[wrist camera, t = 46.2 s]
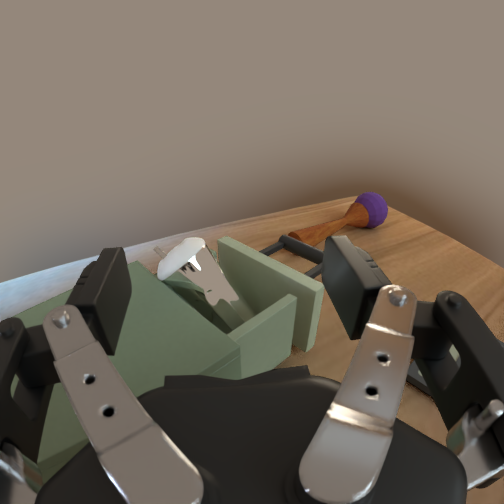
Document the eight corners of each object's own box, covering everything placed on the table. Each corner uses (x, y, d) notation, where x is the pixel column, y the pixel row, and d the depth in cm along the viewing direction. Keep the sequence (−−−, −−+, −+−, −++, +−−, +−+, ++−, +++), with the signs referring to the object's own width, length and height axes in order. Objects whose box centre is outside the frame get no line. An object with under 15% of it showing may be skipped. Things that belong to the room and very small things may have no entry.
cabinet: (155, 334, 29) (137, 260, 25) (243, 418, 21) (240, 345, 17) (35, 397, 20) (-12, 327, 16) (92, 514, 12) (21, 470, 8)
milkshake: (244, 315, 29) (174, 231, 27) (277, 315, 24) (195, 214, 22) (212, 350, 26) (135, 264, 24) (241, 358, 22) (148, 253, 20)
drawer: (268, 269, 37) (270, 217, 34) (349, 312, 30) (362, 255, 27) (123, 348, 26) (102, 289, 22) (198, 436, 19) (182, 383, 15)
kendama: (278, 219, 43) (365, 186, 52) (284, 258, 45) (367, 218, 54) (308, 227, 38) (393, 191, 47) (312, 270, 40) (394, 224, 49)
